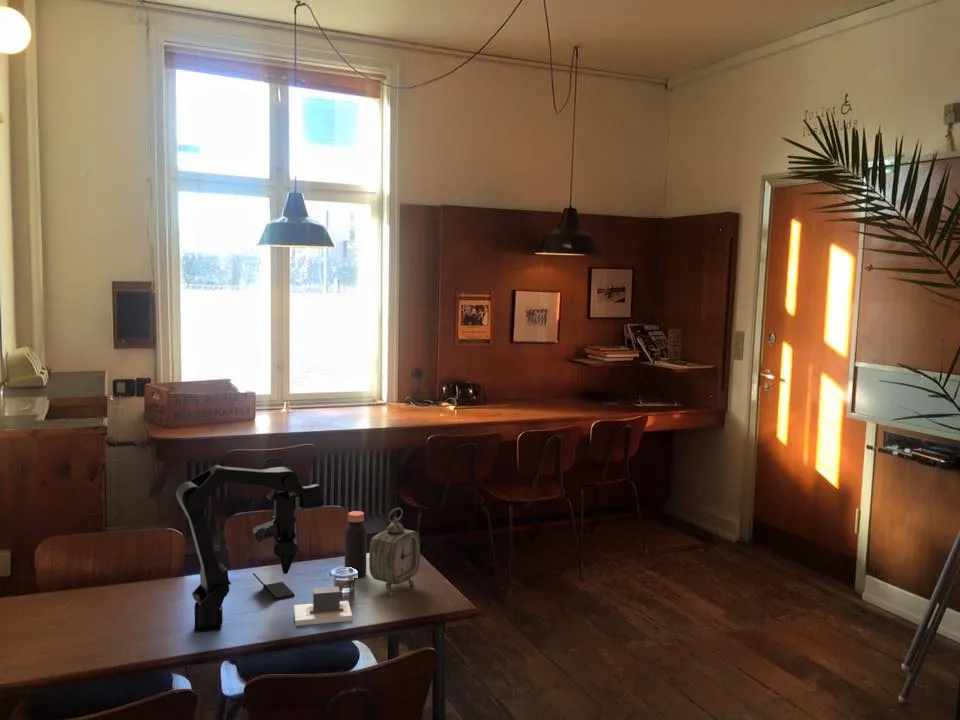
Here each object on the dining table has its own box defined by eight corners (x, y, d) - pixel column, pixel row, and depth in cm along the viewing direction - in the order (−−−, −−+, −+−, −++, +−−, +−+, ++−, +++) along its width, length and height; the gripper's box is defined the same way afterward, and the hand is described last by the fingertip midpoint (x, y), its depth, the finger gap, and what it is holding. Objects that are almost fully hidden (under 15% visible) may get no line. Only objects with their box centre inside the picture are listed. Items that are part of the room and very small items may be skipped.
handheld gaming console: (300, 589, 227) (279, 567, 223) (284, 609, 223) (262, 587, 219) (282, 582, 236) (261, 561, 232) (266, 602, 232) (245, 580, 228)
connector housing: (338, 603, 216) (338, 586, 216) (339, 609, 213) (339, 591, 212) (312, 605, 214) (313, 588, 214) (313, 611, 211) (313, 593, 210)
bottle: (349, 580, 238) (350, 517, 236) (341, 573, 244) (341, 511, 242) (369, 576, 242) (370, 514, 240) (360, 569, 248) (361, 508, 246)
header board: (295, 625, 207) (295, 608, 206) (294, 610, 216) (294, 593, 216) (351, 620, 211) (352, 603, 210) (348, 605, 220) (348, 589, 220)
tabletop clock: (391, 600, 225) (392, 516, 222) (366, 593, 229) (367, 511, 227) (419, 584, 237) (421, 504, 235) (395, 577, 242) (396, 499, 239)
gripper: (255, 505, 221) (255, 557, 223) (254, 525, 203) (254, 582, 205) (295, 503, 224) (295, 555, 226) (297, 522, 206) (297, 579, 208)
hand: (284, 567), depth 216 cm, fingers open, 9 cm apart
